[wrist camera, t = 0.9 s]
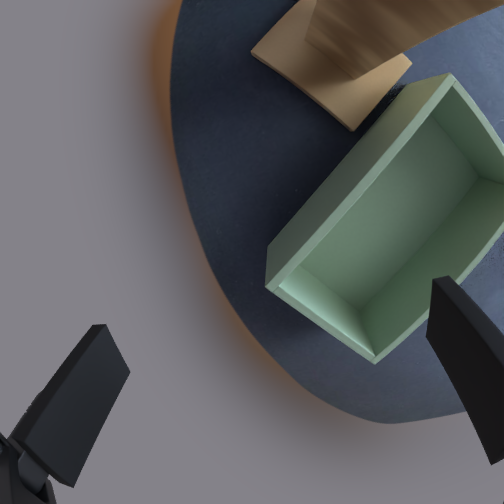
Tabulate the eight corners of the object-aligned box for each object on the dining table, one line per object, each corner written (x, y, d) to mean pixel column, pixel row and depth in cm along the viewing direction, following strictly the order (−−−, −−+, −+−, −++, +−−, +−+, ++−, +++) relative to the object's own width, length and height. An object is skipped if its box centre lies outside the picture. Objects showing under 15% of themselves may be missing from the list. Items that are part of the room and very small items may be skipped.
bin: (267, 246, 32) (264, 287, 24) (406, 84, 24) (450, 71, 16) (356, 315, 34) (374, 365, 26) (481, 175, 27) (530, 193, 19)
